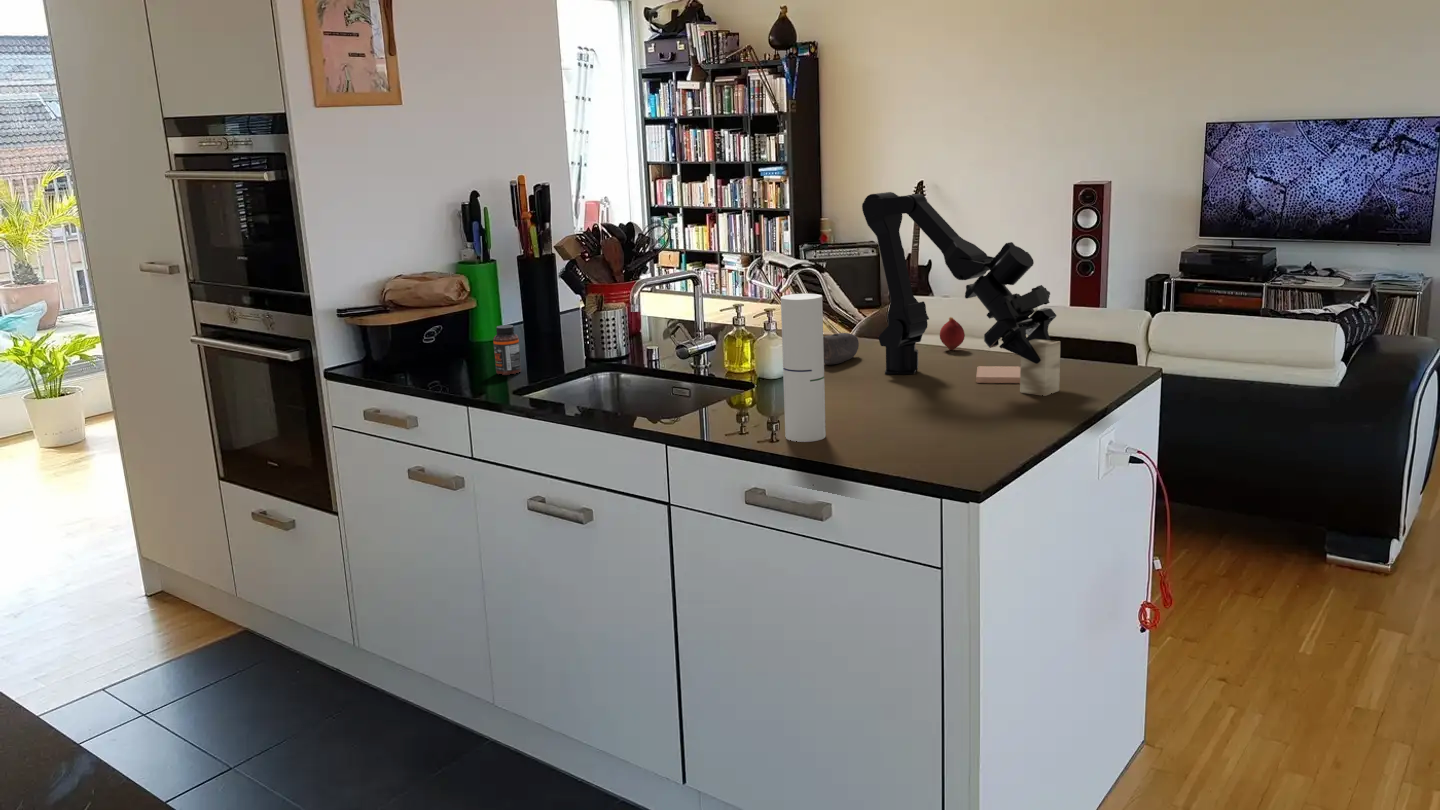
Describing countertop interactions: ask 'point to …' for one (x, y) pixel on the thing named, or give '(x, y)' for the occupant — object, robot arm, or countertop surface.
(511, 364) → the supplement bottle
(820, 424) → the cylindrical container
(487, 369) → the countertop surface
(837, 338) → the perforated stone tool
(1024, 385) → the birch block
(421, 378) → the countertop surface
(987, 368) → the terracotta tile
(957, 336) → the onion
